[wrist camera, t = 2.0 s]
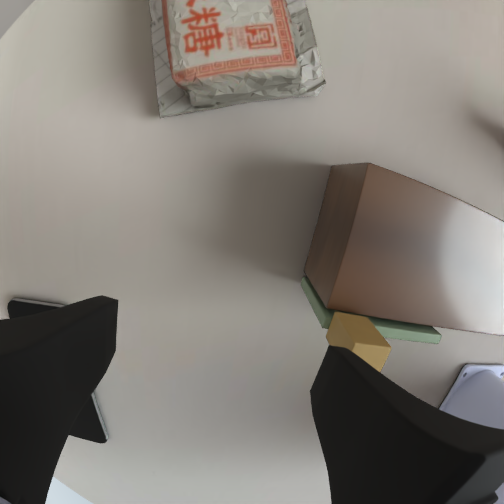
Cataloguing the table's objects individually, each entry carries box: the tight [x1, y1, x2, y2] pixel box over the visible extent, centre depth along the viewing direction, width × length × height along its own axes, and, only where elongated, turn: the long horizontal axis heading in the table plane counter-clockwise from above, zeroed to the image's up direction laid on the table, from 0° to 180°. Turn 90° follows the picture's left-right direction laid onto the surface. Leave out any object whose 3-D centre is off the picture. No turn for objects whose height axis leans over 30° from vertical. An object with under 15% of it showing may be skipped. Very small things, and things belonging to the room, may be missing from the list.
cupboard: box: [304, 163, 504, 336], centre depth 17 cm, size 7×15×6 cm, turn 76°
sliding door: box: [301, 277, 442, 372], centre depth 16 cm, size 1×8×9 cm, turn 76°
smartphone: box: [8, 298, 108, 443], centre depth 22 cm, size 7×1×15 cm
